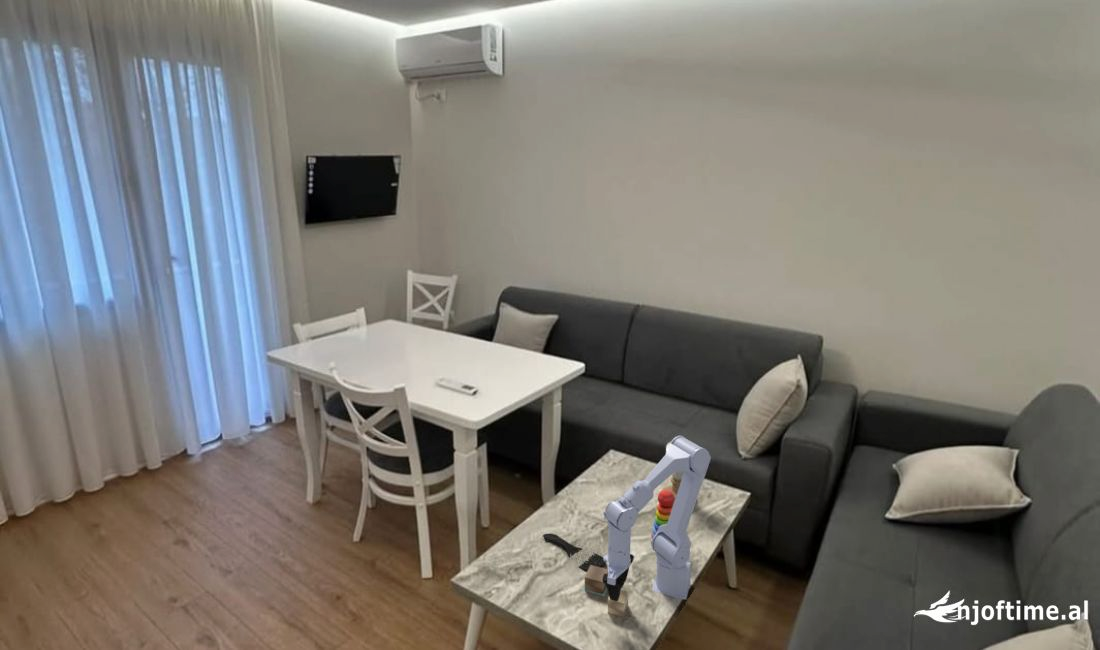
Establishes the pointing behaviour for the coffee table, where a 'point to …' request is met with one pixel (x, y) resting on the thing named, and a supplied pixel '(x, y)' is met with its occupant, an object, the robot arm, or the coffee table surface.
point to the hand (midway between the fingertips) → (618, 589)
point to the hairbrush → (570, 548)
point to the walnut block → (595, 579)
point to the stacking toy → (663, 510)
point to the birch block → (618, 604)
